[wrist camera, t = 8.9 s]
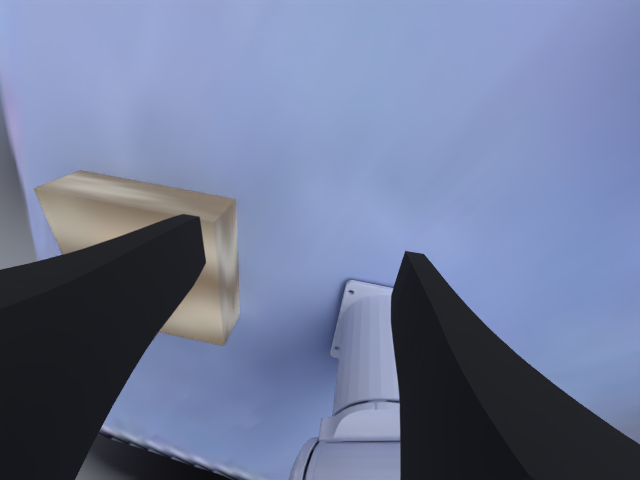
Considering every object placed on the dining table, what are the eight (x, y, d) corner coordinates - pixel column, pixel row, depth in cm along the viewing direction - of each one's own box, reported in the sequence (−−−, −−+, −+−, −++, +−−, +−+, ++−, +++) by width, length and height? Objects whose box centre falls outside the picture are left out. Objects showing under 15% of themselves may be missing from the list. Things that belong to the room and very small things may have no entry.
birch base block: (241, 311, 28) (223, 346, 24) (123, 286, 29) (90, 317, 25) (238, 196, 21) (213, 222, 18) (85, 168, 22) (33, 188, 19)
